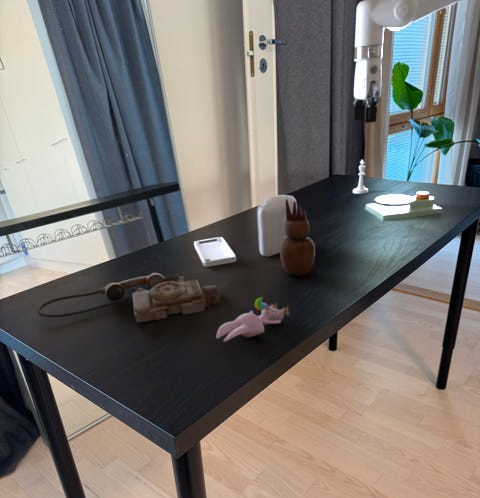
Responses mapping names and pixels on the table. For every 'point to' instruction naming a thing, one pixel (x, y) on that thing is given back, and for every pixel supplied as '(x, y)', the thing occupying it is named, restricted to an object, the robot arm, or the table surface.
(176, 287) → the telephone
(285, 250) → the wooden figurine
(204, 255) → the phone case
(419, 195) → the tare button
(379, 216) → the scale
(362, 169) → the chess piece
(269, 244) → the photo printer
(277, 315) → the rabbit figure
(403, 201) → the pan
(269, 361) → the table surface
